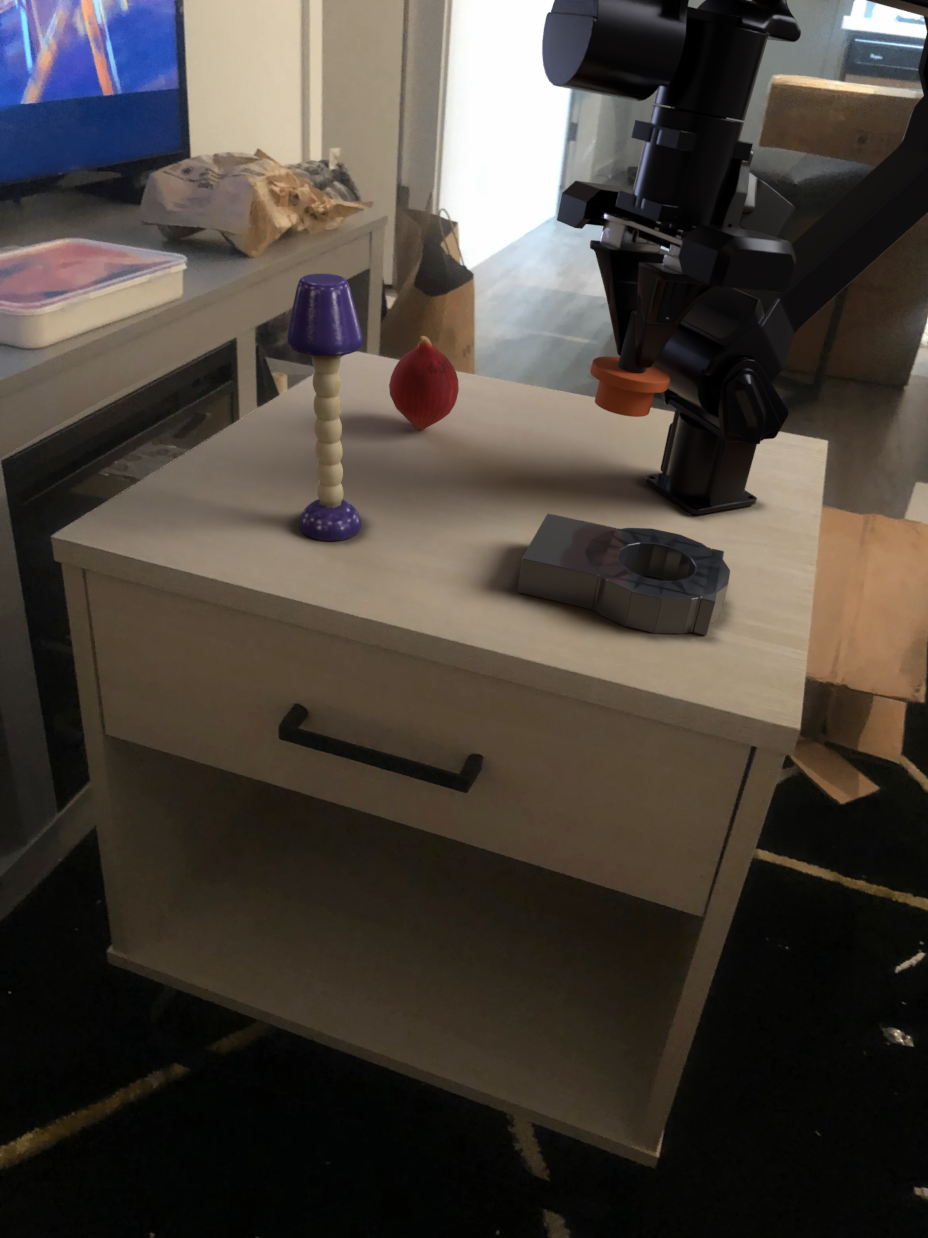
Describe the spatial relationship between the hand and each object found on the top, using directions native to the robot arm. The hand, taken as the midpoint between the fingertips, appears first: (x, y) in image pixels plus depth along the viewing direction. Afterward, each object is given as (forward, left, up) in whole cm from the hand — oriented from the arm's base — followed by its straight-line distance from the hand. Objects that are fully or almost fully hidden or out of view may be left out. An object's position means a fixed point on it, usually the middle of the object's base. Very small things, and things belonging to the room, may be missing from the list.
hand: (634, 361), depth 67 cm
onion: (+18, +7, -11) cm, 22 cm away
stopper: (0, 0, -3) cm, 3 cm away
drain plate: (-11, +7, -11) cm, 17 cm away
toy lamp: (+3, +22, -11) cm, 25 cm away
